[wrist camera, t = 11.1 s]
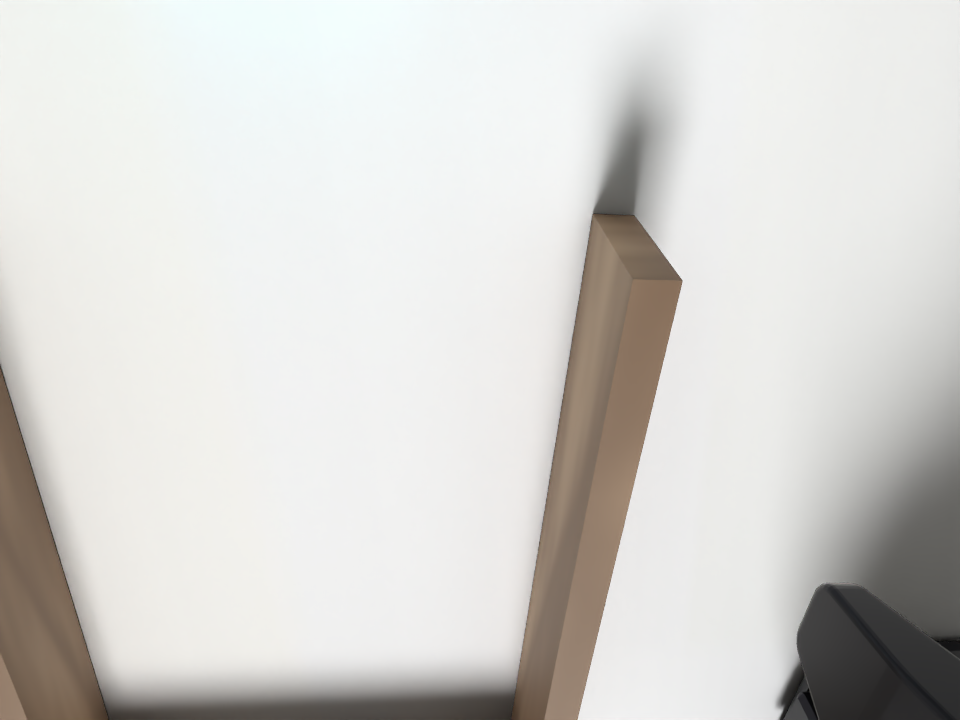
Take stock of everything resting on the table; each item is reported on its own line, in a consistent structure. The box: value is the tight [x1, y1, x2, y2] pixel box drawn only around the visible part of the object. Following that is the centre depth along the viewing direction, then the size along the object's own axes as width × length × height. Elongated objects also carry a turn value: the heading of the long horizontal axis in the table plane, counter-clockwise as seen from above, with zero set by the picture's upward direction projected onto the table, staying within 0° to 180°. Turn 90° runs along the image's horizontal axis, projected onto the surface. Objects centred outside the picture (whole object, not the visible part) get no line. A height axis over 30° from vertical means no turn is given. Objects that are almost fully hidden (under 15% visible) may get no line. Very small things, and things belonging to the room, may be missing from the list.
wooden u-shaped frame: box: [0, 214, 682, 720], centre depth 21 cm, size 16×21×4 cm
